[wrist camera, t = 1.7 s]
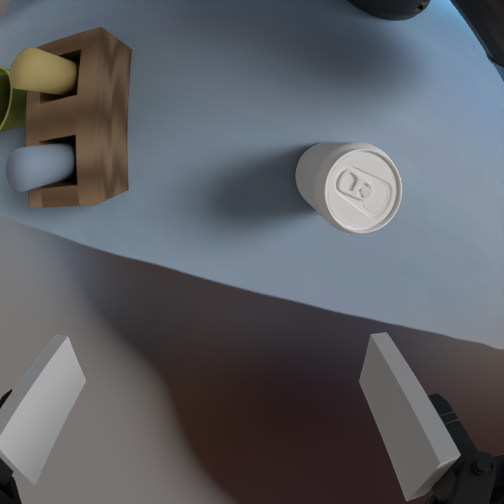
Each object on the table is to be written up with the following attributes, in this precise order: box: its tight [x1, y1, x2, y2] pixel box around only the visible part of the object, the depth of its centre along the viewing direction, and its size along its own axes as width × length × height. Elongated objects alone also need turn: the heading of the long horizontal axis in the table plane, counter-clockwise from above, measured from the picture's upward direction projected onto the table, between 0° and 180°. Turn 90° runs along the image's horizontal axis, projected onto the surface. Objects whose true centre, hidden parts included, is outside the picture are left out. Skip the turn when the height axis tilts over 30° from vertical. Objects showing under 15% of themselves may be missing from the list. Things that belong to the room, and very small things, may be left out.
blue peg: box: [6, 143, 77, 192], centre depth 22 cm, size 4×4×8 cm
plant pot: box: [0, 66, 27, 132], centre depth 25 cm, size 9×9×9 cm
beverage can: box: [295, 142, 402, 234], centre depth 29 cm, size 8×8×12 cm
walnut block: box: [26, 27, 132, 208], centre depth 27 cm, size 18×9×9 cm, turn 178°
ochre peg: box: [9, 47, 80, 96], centre depth 19 cm, size 4×4×8 cm
